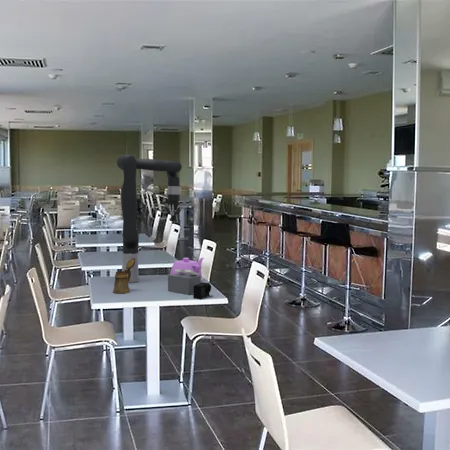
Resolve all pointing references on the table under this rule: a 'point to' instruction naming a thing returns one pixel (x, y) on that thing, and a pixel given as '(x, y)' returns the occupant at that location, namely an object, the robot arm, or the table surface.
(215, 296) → the table surface
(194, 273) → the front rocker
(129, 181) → the robot arm
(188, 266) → the teapot
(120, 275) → the wooden mug
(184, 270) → the back rocker
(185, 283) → the switch box
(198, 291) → the digital camera
